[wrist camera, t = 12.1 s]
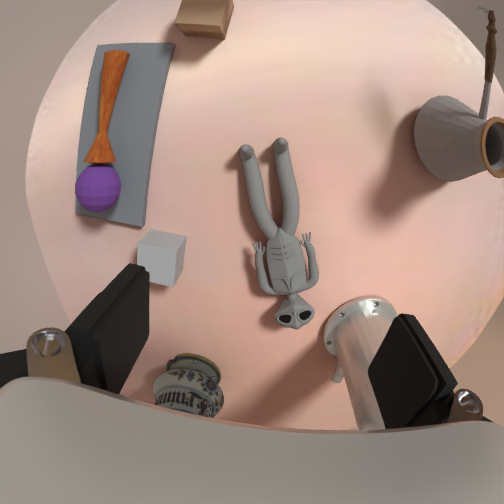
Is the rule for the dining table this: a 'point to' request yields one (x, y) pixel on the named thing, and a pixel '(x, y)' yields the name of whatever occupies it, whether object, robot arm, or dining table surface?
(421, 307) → the dining table surface
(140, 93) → the charcoal mat
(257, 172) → the alien figure
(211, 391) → the apothecary jar
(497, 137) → the coffee pot
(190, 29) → the walnut block
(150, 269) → the grey block
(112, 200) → the kendama
